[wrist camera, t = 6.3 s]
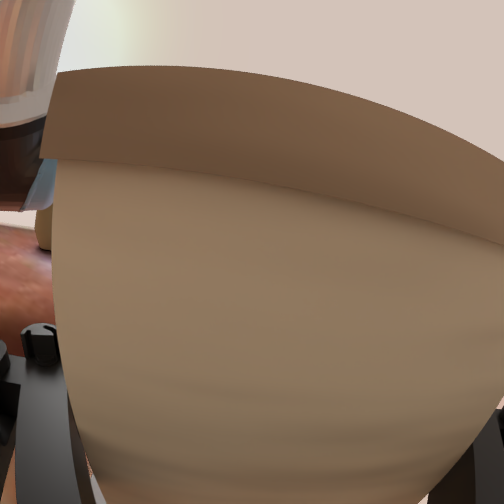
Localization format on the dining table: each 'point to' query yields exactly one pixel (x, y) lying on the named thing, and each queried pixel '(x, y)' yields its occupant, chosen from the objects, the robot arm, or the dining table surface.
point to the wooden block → (269, 288)
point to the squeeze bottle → (44, 227)
